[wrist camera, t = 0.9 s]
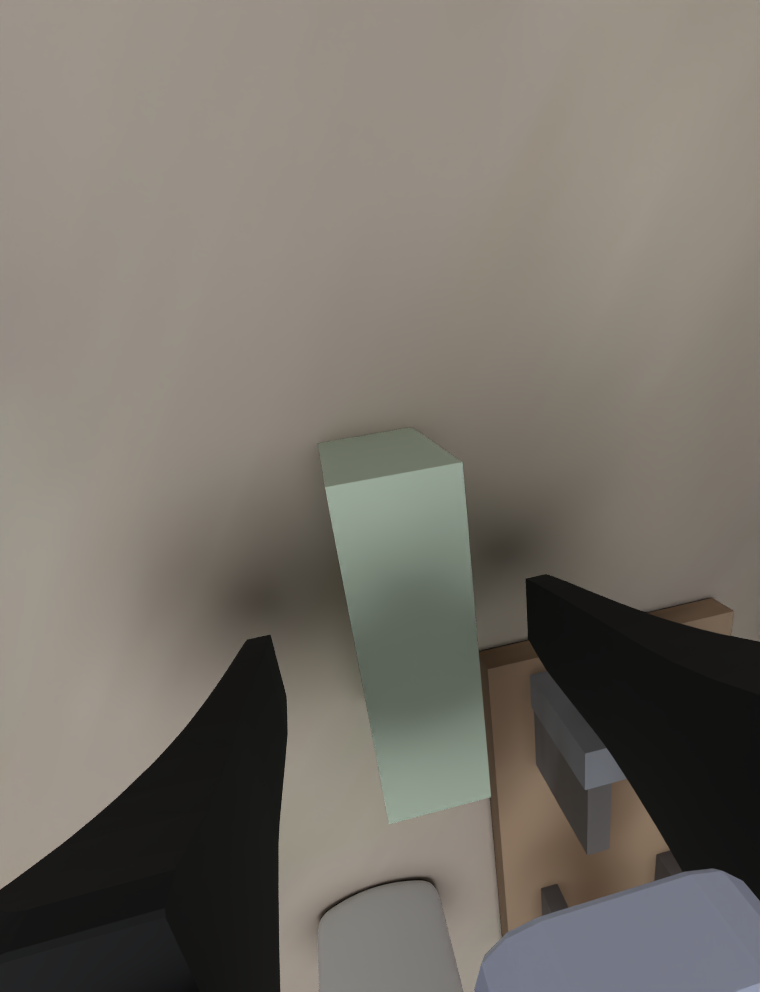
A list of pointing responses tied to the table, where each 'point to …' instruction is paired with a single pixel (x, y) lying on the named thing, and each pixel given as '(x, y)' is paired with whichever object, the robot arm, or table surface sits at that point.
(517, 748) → the slotted holder
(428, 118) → the table surface
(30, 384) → the table surface
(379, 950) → the eye dropper bottle
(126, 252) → the table surface
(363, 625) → the rail plank
